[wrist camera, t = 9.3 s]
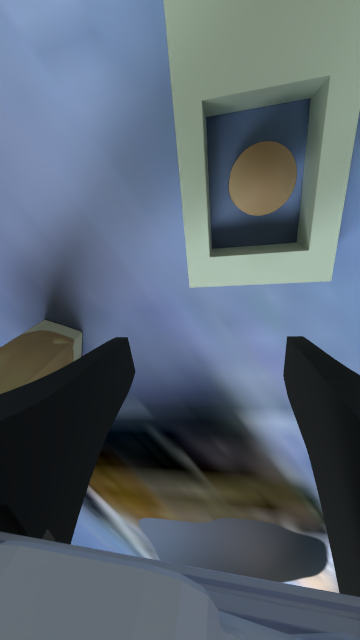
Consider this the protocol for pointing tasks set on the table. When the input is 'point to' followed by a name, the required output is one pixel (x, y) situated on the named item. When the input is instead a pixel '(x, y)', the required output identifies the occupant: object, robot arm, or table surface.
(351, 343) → the table surface
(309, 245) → the green board with holes
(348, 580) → the robot arm
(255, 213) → the tan cylinder
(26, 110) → the table surface
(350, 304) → the table surface
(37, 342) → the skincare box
